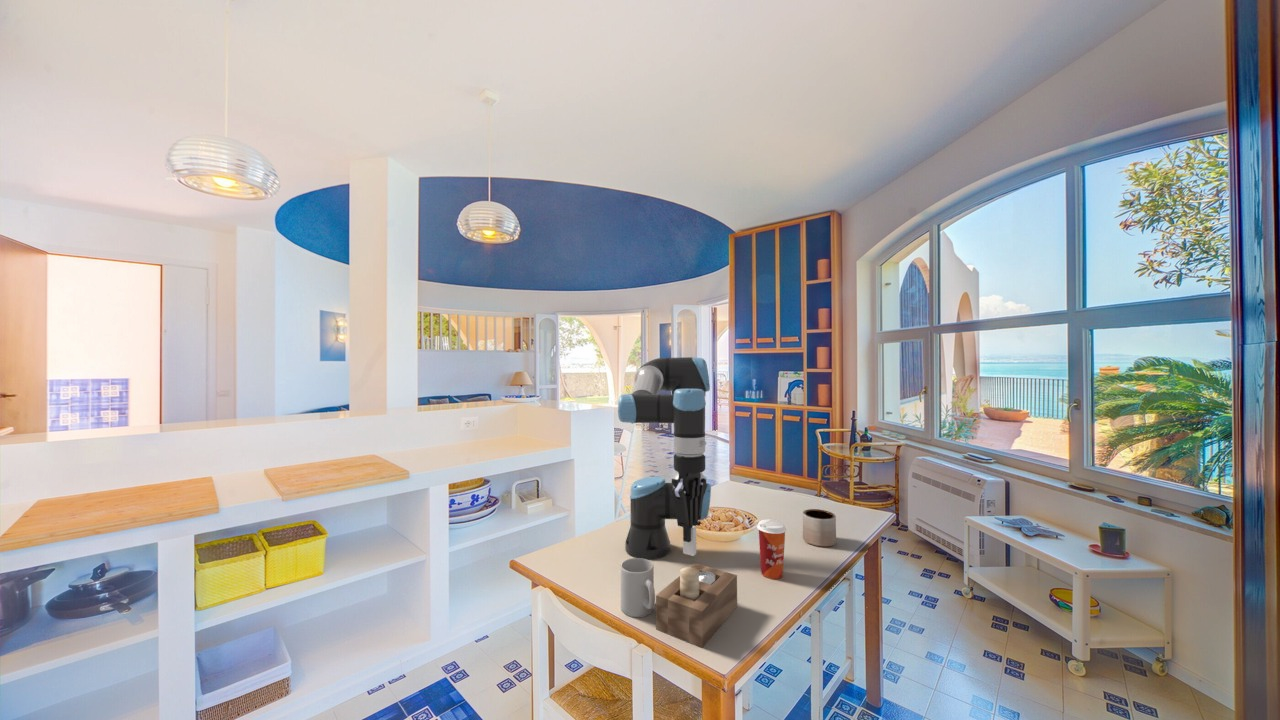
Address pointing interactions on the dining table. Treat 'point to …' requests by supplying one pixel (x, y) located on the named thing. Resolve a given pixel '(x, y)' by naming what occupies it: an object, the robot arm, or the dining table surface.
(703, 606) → the walnut socket block
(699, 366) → the robot arm
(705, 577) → the aluminium peg
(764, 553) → the coffee cup
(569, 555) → the dining table surface
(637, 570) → the mug
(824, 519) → the planter
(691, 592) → the beech peg
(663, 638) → the dining table surface
